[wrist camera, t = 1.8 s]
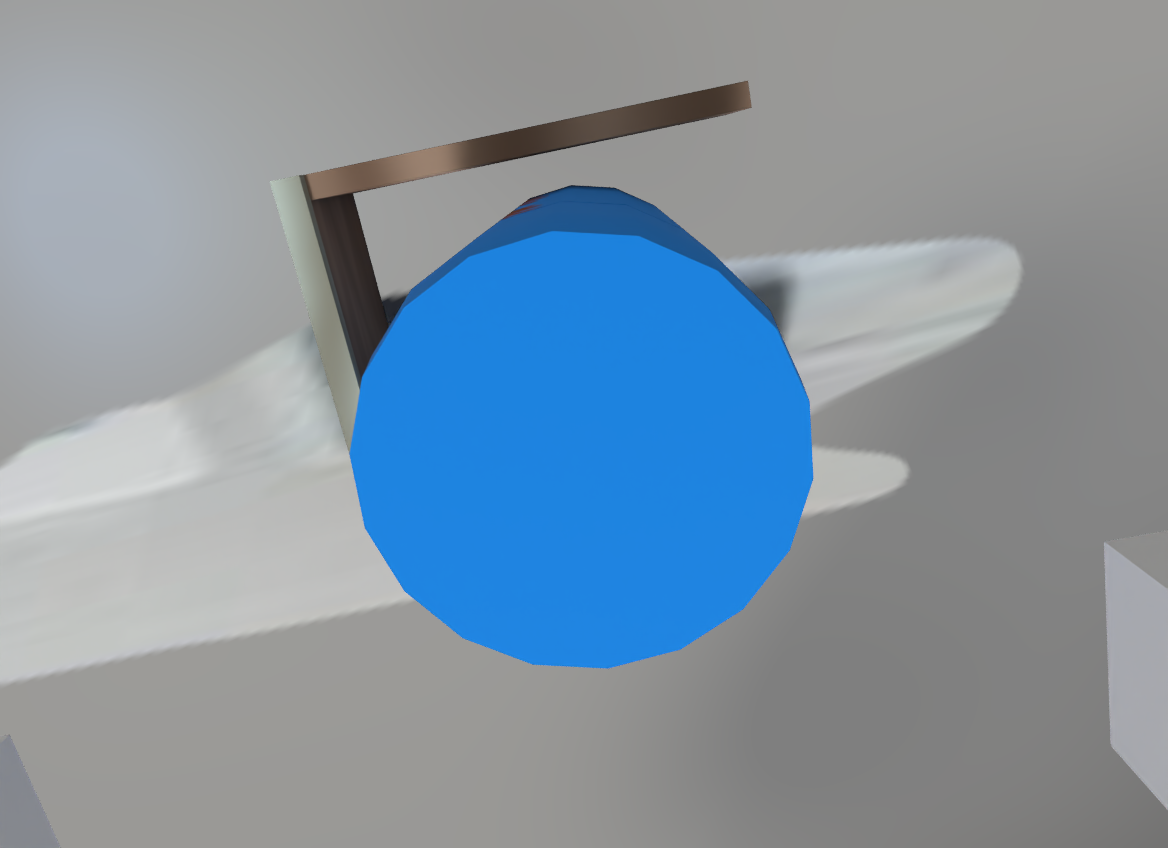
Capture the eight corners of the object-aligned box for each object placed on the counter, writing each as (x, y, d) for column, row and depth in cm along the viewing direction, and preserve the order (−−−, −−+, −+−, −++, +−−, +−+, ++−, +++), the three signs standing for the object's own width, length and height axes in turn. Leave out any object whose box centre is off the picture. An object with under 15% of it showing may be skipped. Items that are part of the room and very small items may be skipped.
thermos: (730, 344, 45) (893, 565, 21) (541, 435, 46) (488, 741, 22) (635, 141, 42) (697, 125, 18) (437, 245, 43) (249, 360, 19)
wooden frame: (722, 92, 41) (750, 79, 34) (769, 417, 46) (803, 468, 38) (324, 176, 42) (269, 181, 35) (409, 485, 47) (376, 546, 40)
